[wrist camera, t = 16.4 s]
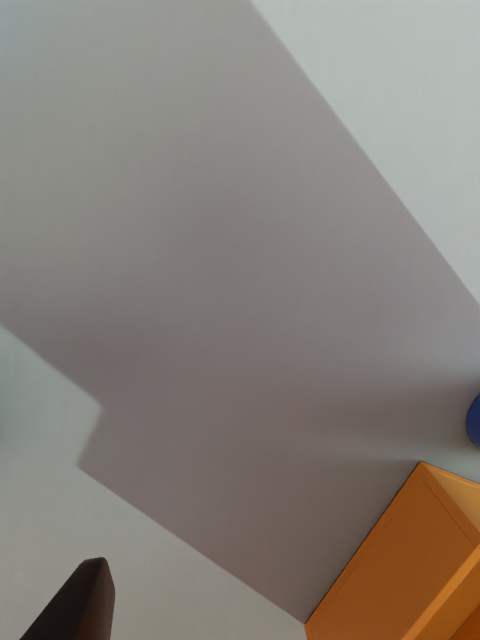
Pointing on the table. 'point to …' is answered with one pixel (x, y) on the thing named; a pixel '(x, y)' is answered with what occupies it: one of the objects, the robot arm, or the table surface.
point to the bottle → (474, 422)
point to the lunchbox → (412, 568)
